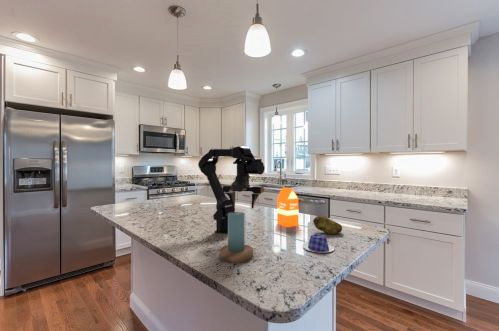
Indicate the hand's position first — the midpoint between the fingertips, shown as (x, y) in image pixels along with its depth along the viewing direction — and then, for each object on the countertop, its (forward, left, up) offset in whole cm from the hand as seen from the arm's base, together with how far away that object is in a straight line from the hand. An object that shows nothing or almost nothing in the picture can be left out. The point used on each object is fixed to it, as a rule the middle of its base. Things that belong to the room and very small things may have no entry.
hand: (243, 207), depth 116 cm
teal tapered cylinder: (+7, -24, -10) cm, 27 cm away
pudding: (+34, -5, -14) cm, 37 cm away
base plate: (+7, -24, -13) cm, 28 cm away
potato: (+36, +18, -13) cm, 43 cm away
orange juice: (+15, +28, -13) cm, 34 cm away
